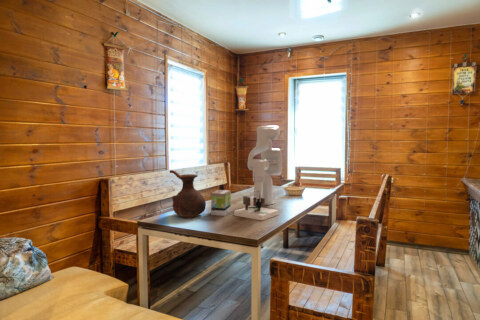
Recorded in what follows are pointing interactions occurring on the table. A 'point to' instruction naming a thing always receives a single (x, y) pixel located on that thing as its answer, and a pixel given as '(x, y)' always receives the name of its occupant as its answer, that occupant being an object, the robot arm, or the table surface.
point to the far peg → (247, 202)
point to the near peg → (261, 203)
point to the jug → (188, 198)
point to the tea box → (220, 202)
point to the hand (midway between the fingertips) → (258, 207)
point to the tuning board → (256, 213)
